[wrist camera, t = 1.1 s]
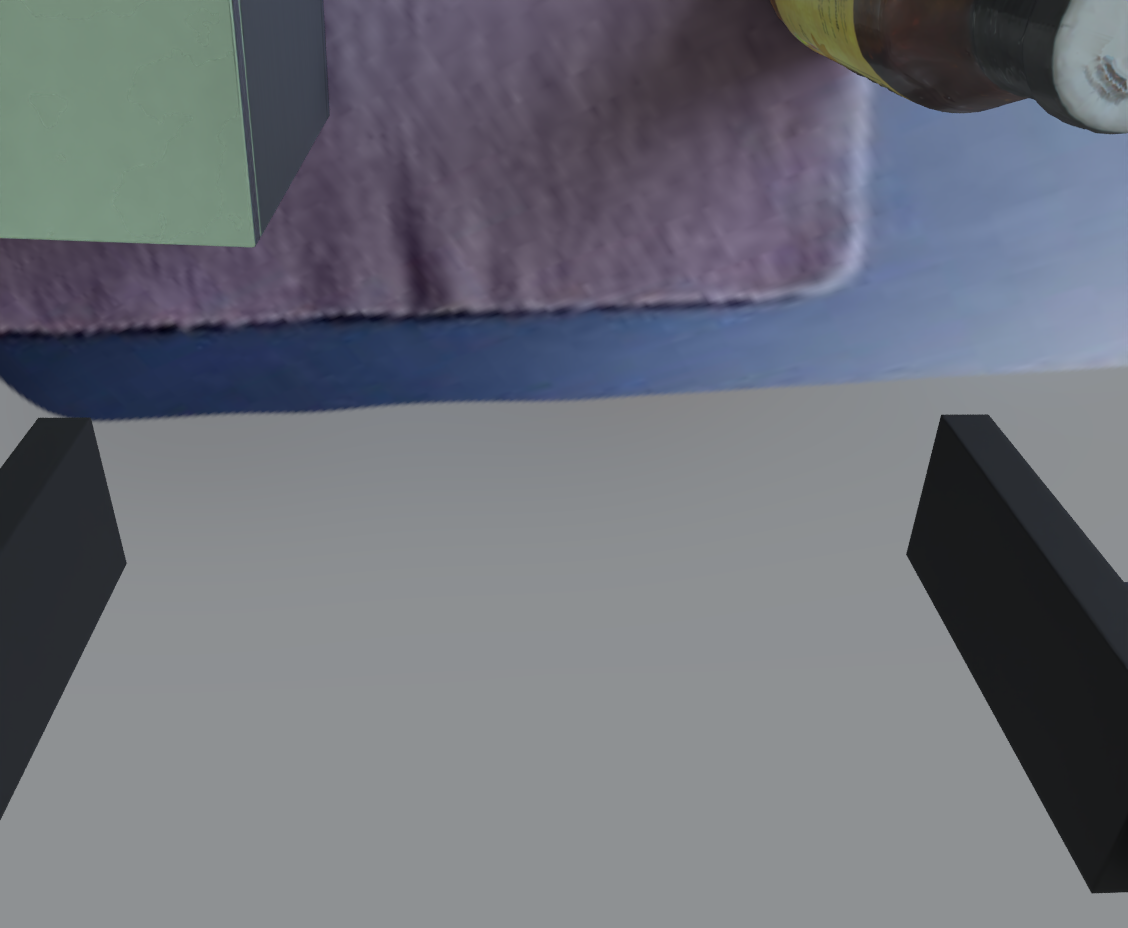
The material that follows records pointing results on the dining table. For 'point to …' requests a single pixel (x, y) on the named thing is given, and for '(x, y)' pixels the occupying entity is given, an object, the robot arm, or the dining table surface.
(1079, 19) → the sauce bottle
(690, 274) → the dining table surface
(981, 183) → the dining table surface
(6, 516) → the robot arm
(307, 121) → the bin
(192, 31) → the lid
